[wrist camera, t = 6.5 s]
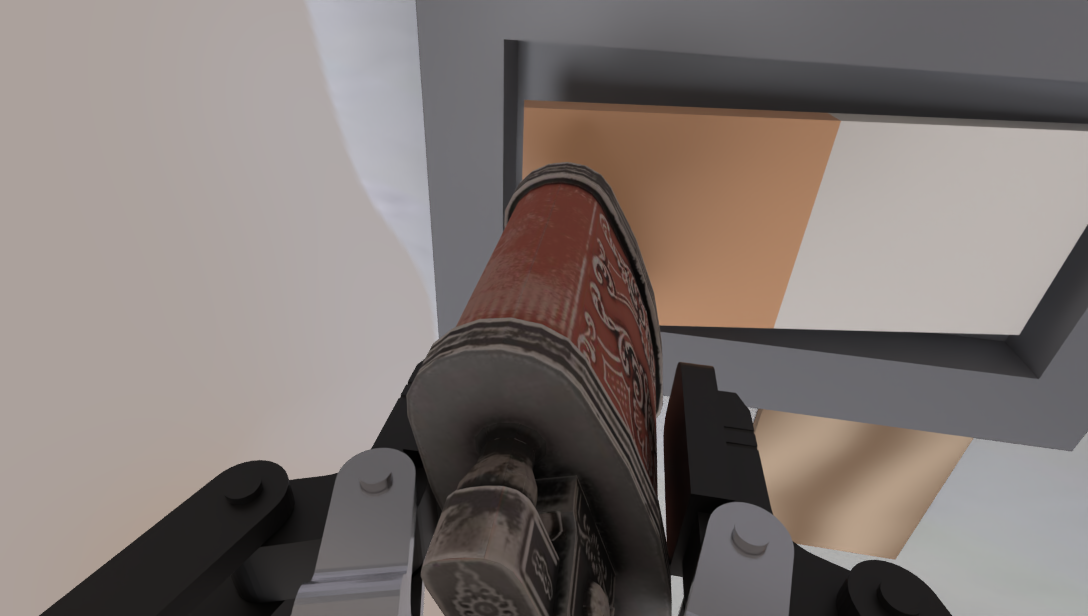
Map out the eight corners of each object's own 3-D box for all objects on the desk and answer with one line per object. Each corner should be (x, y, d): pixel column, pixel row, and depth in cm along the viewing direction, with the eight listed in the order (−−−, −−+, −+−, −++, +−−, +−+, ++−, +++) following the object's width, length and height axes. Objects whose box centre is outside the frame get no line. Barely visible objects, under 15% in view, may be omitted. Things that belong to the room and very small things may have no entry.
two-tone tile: (1117, 125, 19) (1143, 133, 18) (1001, 320, 23) (1019, 335, 23) (524, 99, 18) (524, 107, 17) (519, 307, 23) (518, 321, 22)
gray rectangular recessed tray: (1341, -43, 17) (1460, -41, 14) (1032, 404, 27) (1071, 451, 24) (439, -88, 20) (409, -92, 17) (458, 329, 30) (440, 364, 27)
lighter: (484, 180, 14) (244, 527, 6) (618, 145, 13) (568, 500, 5) (572, 419, 18) (508, 835, 9) (681, 405, 17) (715, 854, 9)
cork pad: (968, 428, 28) (973, 437, 28) (891, 550, 33) (895, 559, 33) (761, 400, 29) (763, 408, 29) (719, 522, 35) (720, 531, 34)
